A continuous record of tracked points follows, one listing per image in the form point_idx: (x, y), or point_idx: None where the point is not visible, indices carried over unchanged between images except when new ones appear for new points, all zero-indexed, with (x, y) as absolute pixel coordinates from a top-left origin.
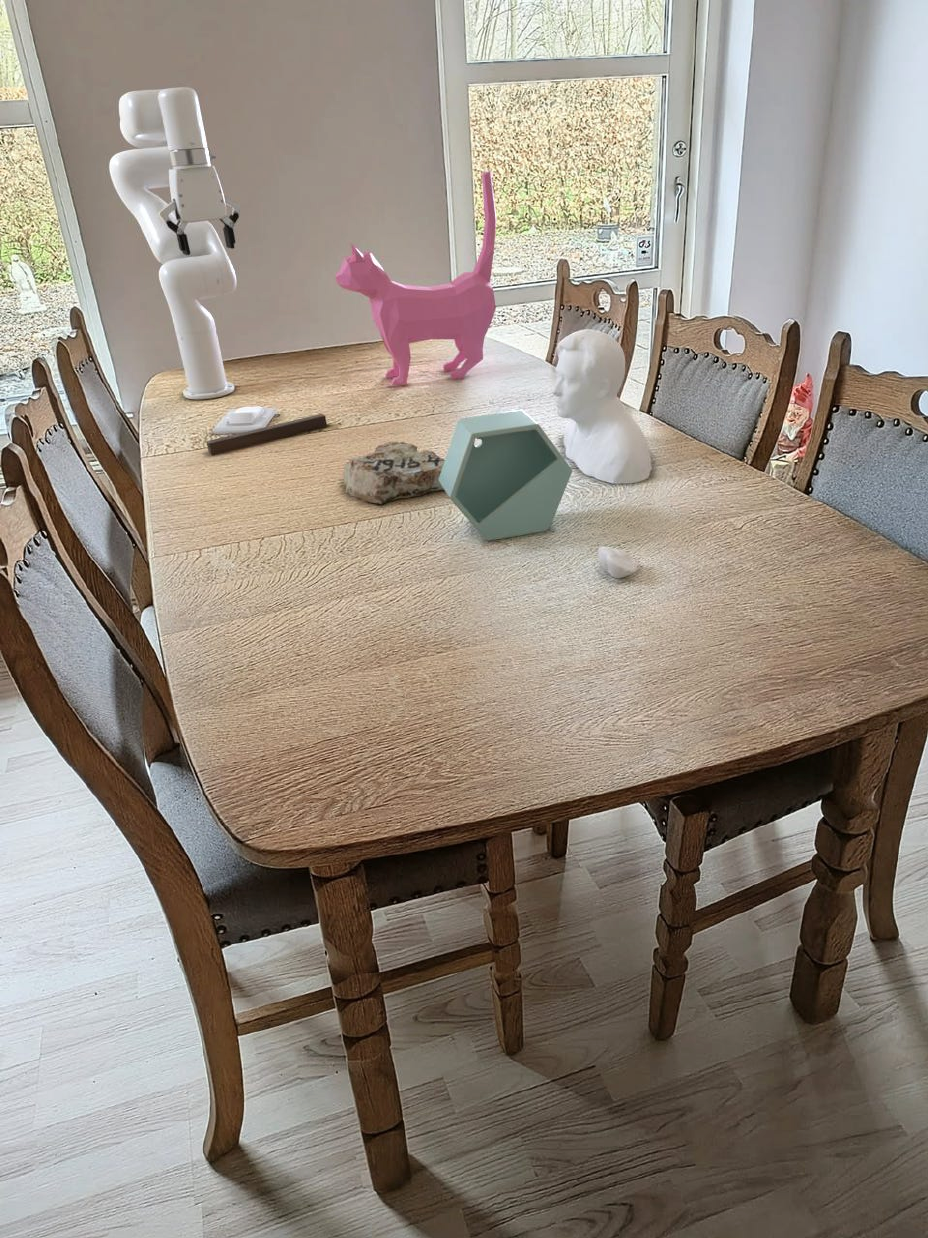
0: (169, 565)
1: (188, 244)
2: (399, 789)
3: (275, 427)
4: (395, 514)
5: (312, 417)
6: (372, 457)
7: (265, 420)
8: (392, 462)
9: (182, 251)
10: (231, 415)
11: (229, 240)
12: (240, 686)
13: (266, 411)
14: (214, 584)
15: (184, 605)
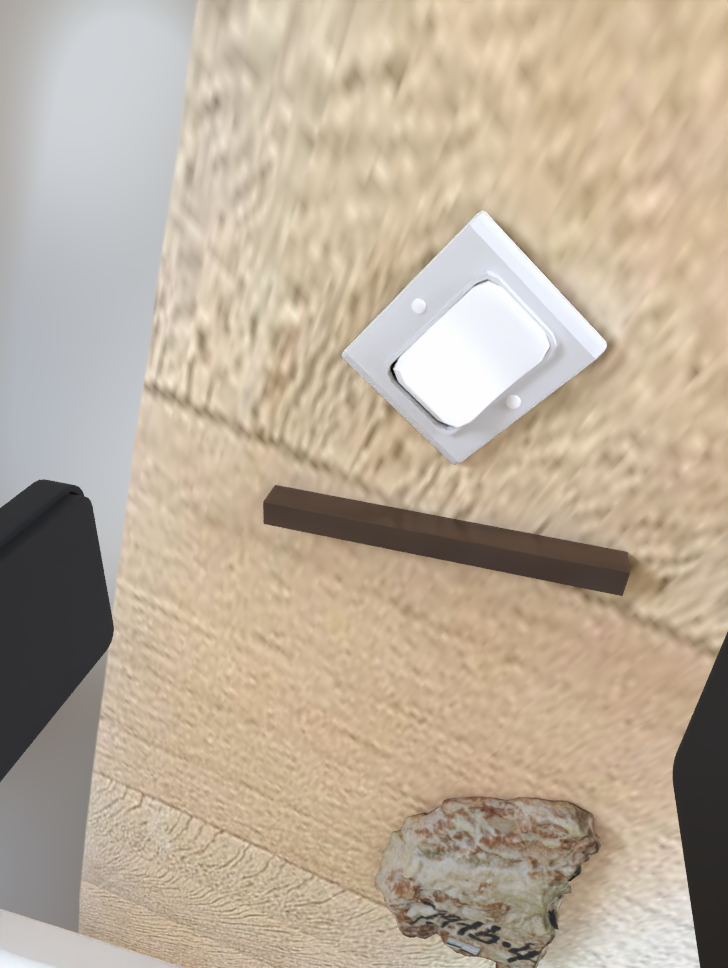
0: (101, 794)
1: (48, 720)
2: None
3: (455, 560)
4: None
5: (584, 578)
6: (445, 894)
7: (500, 430)
8: (460, 919)
9: (32, 493)
10: (402, 383)
11: (688, 852)
12: None
13: (551, 365)
14: (138, 856)
15: (102, 859)
